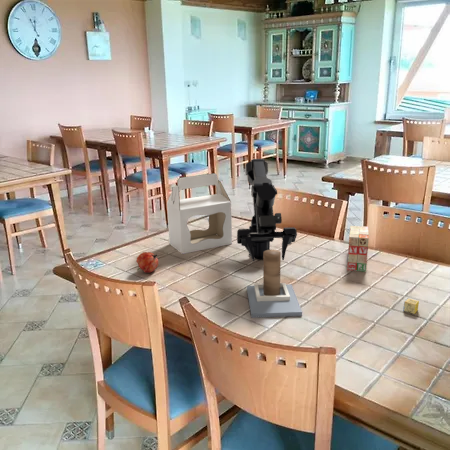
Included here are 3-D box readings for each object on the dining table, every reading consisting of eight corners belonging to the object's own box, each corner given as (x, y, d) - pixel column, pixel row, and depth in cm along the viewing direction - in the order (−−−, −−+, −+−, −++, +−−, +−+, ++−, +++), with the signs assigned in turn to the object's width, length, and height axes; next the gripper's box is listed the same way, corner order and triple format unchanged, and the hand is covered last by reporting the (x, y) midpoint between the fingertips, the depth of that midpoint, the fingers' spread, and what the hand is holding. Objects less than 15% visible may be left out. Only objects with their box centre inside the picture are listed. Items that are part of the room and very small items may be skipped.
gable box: (217, 235, 195) (215, 169, 187) (232, 243, 184) (231, 175, 176) (168, 244, 185) (164, 176, 177) (181, 254, 174) (177, 181, 166)
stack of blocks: (348, 249, 176) (350, 218, 172) (366, 250, 174) (368, 219, 170) (347, 270, 156) (349, 236, 152) (366, 272, 154) (368, 237, 151)
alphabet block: (406, 307, 130) (407, 297, 129) (418, 310, 128) (419, 300, 127) (403, 311, 128) (404, 301, 127) (414, 314, 126) (415, 304, 125)
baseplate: (246, 289, 144) (246, 282, 143) (291, 287, 144) (291, 280, 143) (251, 317, 126) (251, 309, 126) (302, 315, 127) (302, 308, 126)
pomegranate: (136, 281, 157) (156, 267, 152) (125, 263, 157) (144, 248, 153) (148, 275, 163) (167, 261, 159) (137, 258, 164) (156, 244, 160)
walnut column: (262, 289, 140) (262, 249, 136) (278, 289, 140) (279, 249, 136) (264, 297, 135) (264, 256, 131) (281, 296, 135) (281, 255, 131)
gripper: (236, 204, 143) (239, 250, 136) (296, 202, 143) (302, 248, 136) (236, 221, 153) (238, 264, 146) (292, 219, 153) (297, 263, 146)
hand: (268, 260), depth 143 cm, fingers open, 9 cm apart
